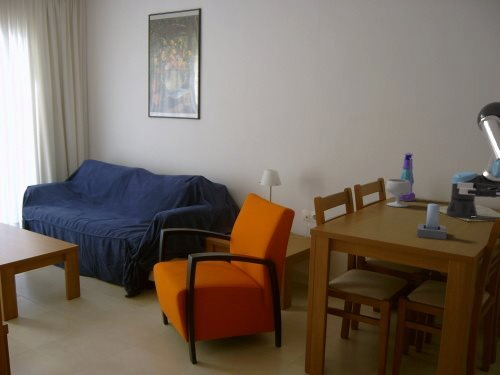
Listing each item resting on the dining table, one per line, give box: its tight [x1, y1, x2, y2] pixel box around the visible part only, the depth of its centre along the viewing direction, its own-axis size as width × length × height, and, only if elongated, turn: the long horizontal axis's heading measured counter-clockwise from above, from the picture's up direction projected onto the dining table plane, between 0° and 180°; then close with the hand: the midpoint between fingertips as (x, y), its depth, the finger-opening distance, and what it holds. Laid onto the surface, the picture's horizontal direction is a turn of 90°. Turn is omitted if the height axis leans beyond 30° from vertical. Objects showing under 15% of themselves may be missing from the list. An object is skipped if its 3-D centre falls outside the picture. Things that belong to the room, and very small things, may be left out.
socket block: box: [416, 222, 448, 241], centre depth 215 cm, size 12×12×4 cm
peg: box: [425, 203, 440, 230], centre depth 214 cm, size 5×5×14 cm
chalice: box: [385, 178, 411, 208], centre depth 280 cm, size 14×14×15 cm
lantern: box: [399, 152, 416, 202], centre depth 297 cm, size 13×12×30 cm
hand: (458, 187), depth 213 cm, fingers open, 13 cm apart
